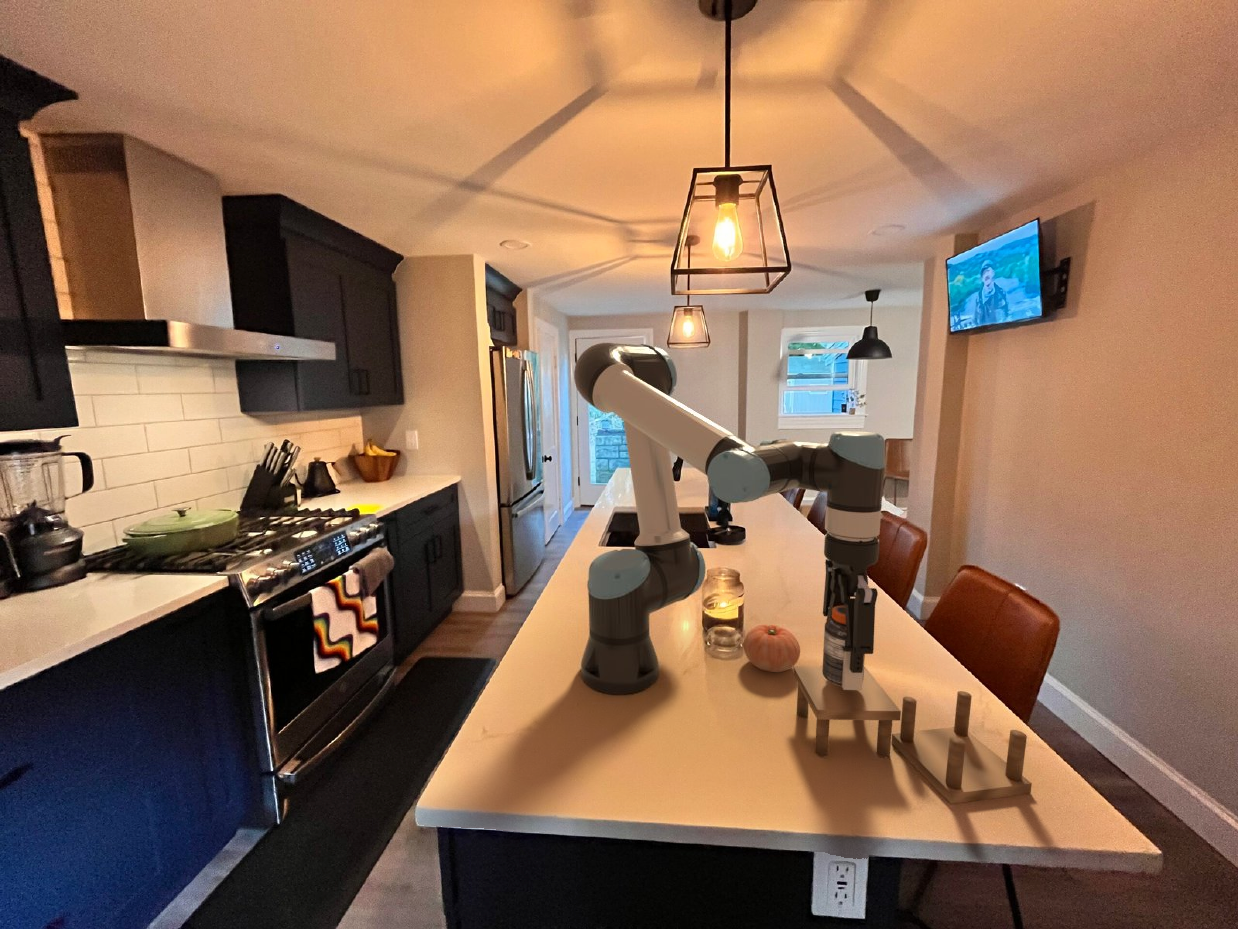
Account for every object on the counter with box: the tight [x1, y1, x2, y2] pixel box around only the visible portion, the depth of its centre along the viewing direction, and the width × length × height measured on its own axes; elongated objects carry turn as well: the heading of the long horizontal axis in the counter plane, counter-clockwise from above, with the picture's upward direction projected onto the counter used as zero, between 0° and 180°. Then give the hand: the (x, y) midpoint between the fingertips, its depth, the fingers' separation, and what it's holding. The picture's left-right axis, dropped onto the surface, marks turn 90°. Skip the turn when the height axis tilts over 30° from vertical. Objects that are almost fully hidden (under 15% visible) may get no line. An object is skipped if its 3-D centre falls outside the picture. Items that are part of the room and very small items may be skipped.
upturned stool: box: [891, 690, 1033, 805], centre depth 74 cm, size 12×12×8 cm
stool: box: [792, 665, 902, 759], centre depth 82 cm, size 12×12×8 cm
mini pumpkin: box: [742, 624, 801, 673], centre depth 102 cm, size 11×11×8 cm
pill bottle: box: [822, 606, 866, 686], centre depth 80 cm, size 6×6×11 cm
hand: (843, 676), depth 81 cm, fingers closed on pill bottle, 6 cm apart
